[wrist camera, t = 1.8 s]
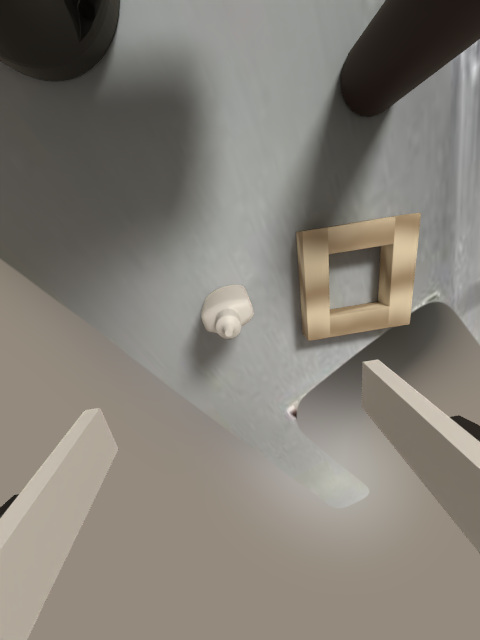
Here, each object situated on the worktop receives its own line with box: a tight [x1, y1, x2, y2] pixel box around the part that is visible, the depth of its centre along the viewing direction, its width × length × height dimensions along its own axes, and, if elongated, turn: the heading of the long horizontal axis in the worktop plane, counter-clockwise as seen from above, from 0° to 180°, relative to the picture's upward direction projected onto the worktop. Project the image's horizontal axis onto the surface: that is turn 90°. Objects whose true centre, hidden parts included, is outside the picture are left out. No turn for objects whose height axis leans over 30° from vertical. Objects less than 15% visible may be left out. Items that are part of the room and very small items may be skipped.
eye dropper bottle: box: [201, 285, 254, 339], centre depth 27 cm, size 4×6×12 cm
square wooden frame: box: [296, 213, 421, 341], centre depth 31 cm, size 14×14×2 cm
